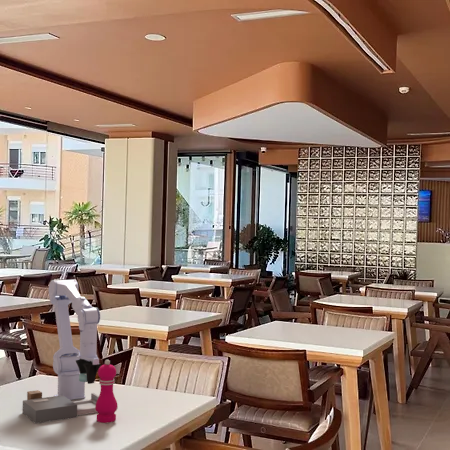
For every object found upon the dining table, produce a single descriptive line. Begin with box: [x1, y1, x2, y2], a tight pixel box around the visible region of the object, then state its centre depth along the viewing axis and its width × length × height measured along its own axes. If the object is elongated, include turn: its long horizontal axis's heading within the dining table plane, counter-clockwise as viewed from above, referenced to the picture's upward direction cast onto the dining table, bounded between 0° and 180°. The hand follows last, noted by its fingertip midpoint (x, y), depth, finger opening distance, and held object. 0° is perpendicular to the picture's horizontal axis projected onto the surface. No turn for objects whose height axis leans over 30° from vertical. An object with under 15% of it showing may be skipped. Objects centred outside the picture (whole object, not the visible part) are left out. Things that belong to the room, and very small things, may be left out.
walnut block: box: [26, 389, 43, 400], centre depth 231 cm, size 4×4×5 cm
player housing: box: [22, 395, 78, 424], centre depth 221 cm, size 14×14×4 cm
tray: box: [73, 392, 99, 416], centre depth 227 cm, size 14×14×3 cm
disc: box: [79, 373, 88, 383], centre depth 228 cm, size 5×5×2 cm
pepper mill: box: [95, 359, 118, 424], centre depth 216 cm, size 7×7×20 cm
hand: (87, 381), depth 228 cm, fingers closed on disc, 5 cm apart
